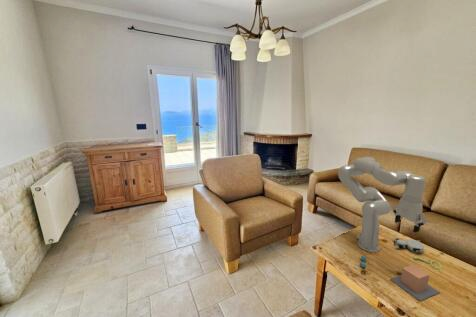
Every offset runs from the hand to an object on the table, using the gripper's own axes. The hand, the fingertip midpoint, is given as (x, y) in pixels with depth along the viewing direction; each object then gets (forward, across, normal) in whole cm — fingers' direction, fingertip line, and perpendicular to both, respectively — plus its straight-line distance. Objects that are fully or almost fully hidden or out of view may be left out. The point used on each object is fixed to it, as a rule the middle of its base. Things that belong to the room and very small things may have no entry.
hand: (406, 226), depth 112 cm
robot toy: (+26, -10, +22) cm, 36 cm away
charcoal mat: (+25, +13, -7) cm, 29 cm away
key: (+26, +4, +19) cm, 32 cm away
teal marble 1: (+26, -10, -15) cm, 31 cm away
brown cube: (+24, +13, -7) cm, 28 cm away
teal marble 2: (+25, -6, -21) cm, 33 cm away
